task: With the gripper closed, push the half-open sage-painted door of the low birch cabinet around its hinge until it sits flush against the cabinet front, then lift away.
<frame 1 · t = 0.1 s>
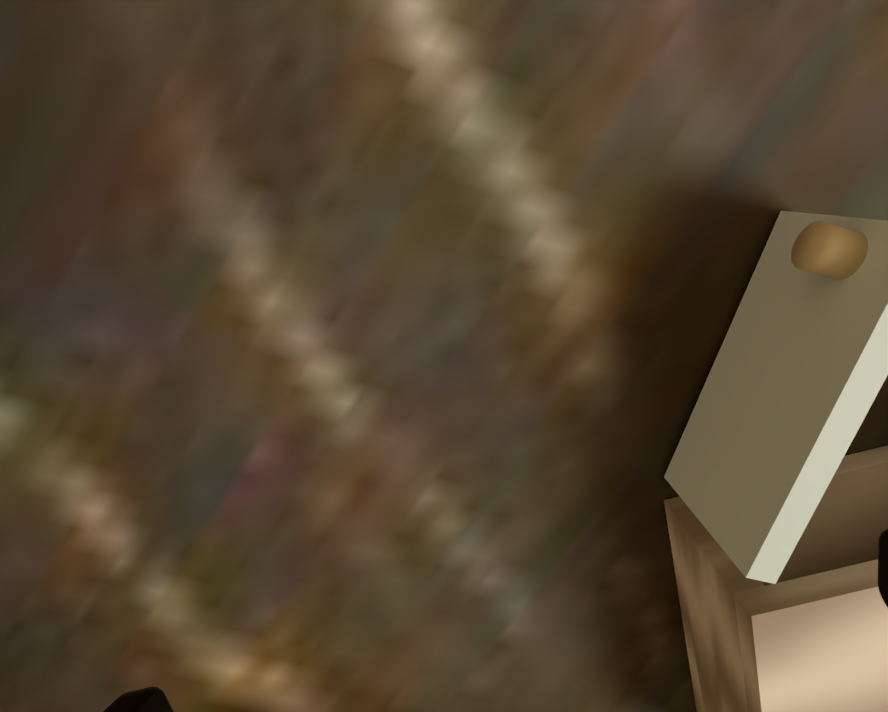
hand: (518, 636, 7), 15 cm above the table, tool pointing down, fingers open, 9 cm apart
cabinet door: (761, 380, 18), point 3 cm above the table, hinge at 60.0°
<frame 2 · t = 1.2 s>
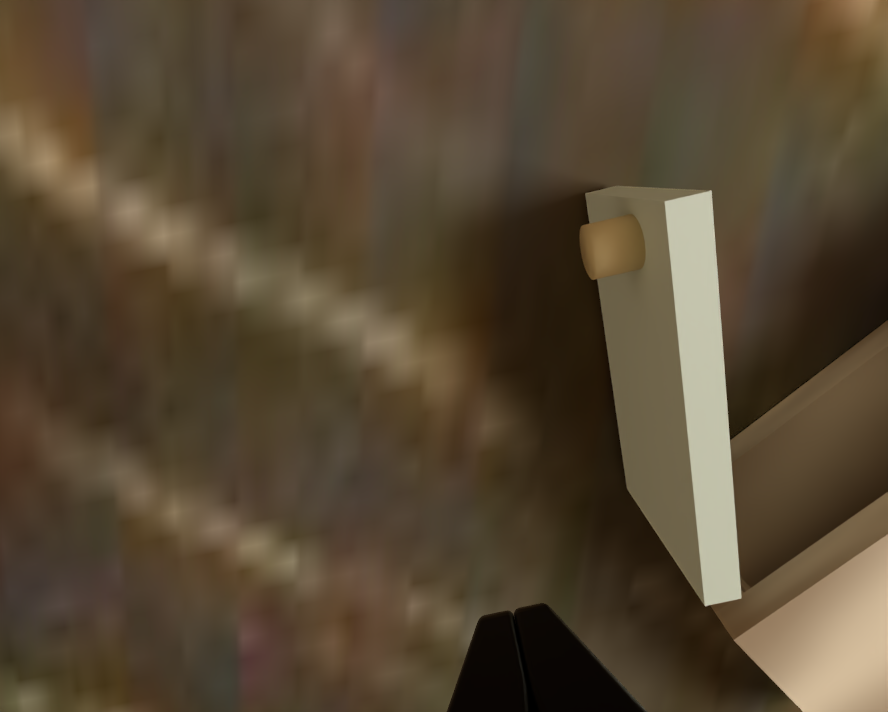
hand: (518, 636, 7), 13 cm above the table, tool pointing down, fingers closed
cabinet door: (637, 385, 16), point 3 cm above the table, hinge at 60.0°
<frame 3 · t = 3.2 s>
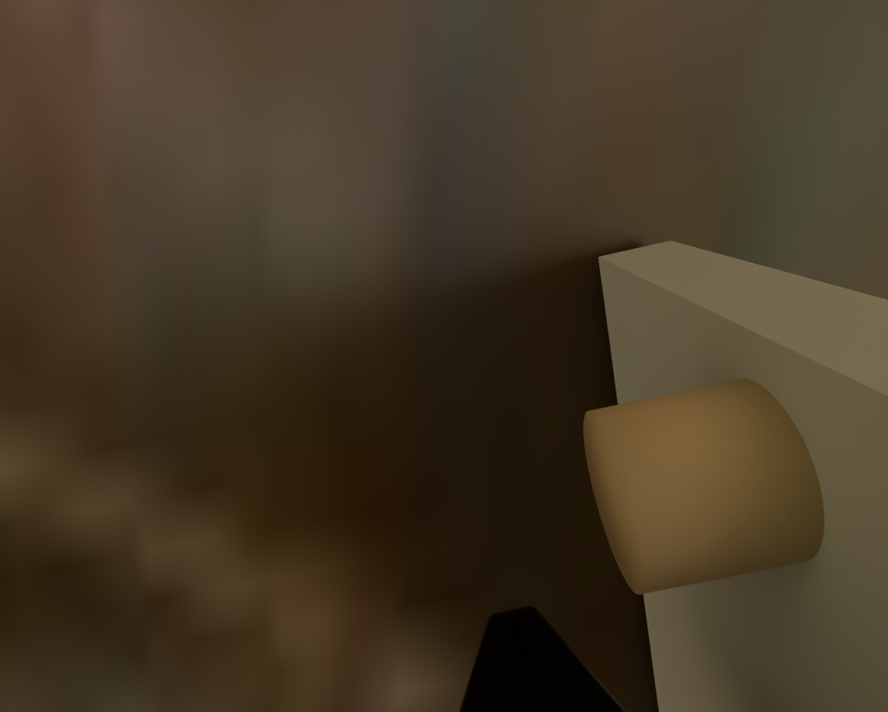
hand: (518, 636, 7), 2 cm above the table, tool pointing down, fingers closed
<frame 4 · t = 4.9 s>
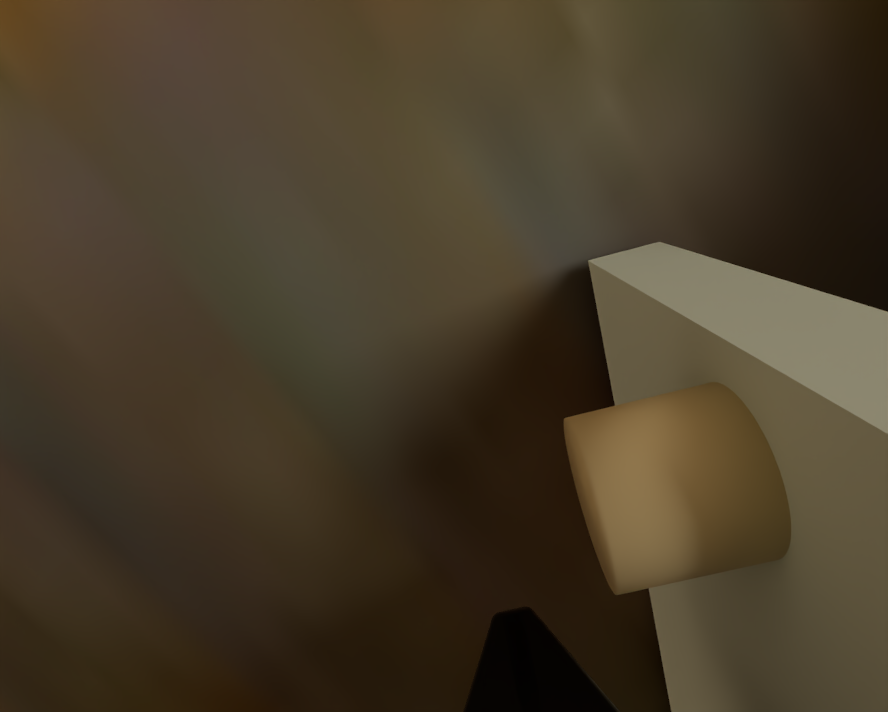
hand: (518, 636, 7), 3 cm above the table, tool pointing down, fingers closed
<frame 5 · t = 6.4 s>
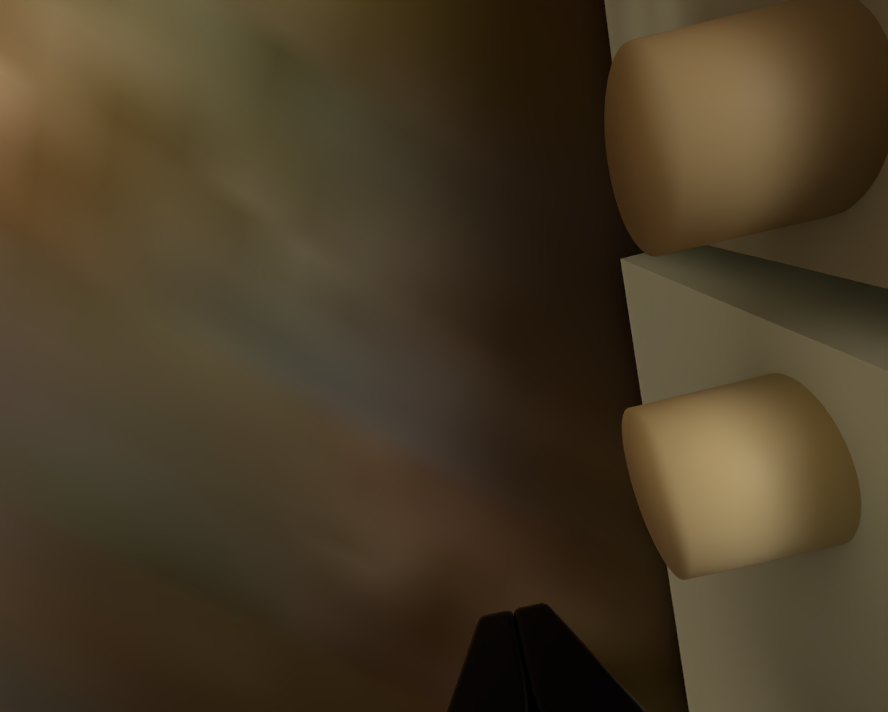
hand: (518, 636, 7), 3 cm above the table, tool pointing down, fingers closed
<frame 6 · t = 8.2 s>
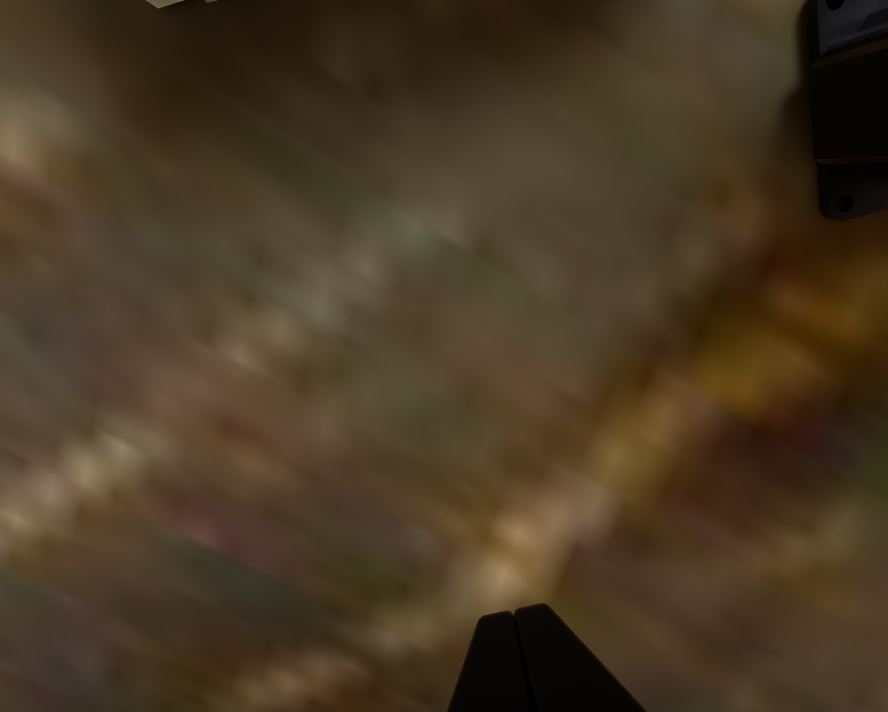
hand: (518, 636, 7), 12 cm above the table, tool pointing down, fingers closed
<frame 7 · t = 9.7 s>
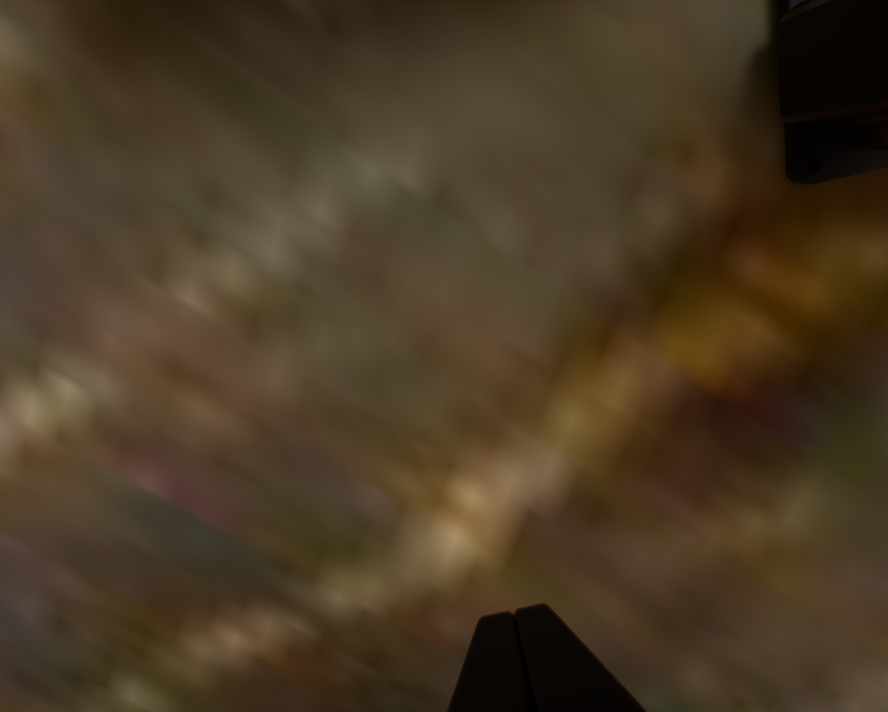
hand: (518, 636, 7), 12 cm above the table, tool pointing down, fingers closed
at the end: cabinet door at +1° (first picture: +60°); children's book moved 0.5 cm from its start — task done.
